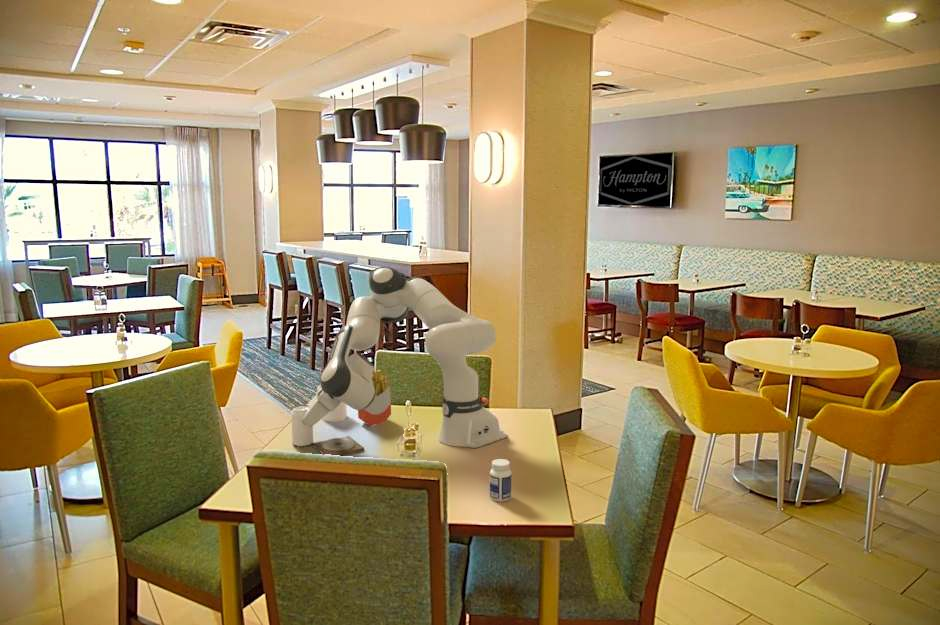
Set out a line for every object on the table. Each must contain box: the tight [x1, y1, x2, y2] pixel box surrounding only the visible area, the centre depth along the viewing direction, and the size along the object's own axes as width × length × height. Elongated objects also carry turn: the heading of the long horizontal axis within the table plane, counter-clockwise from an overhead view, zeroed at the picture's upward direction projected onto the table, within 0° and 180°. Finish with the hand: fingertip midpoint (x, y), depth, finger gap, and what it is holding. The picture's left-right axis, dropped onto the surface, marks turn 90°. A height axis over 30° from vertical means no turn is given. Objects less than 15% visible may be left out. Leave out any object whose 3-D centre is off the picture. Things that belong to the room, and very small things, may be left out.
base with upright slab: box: [321, 402, 348, 422], centre depth 241 cm, size 9×9×12 cm
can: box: [290, 403, 314, 447], centre depth 215 cm, size 6×6×12 cm
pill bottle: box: [489, 458, 512, 503], centre depth 179 cm, size 6×6×10 cm
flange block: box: [312, 435, 365, 456], centre depth 213 cm, size 12×12×2 cm
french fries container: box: [357, 369, 392, 427], centre depth 235 cm, size 5×11×18 cm, turn 131°
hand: (300, 423), depth 216 cm, fingers closed on can, 4 cm apart
